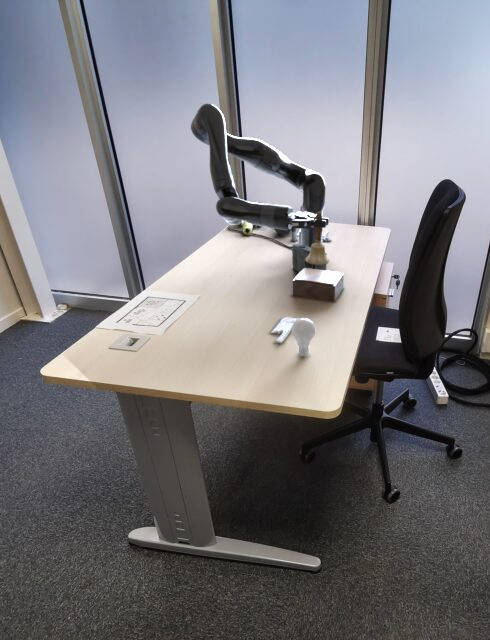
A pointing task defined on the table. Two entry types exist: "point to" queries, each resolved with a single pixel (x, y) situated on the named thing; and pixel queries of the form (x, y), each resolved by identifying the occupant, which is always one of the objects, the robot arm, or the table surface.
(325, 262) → the hand bell
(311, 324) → the lightbulb
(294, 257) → the camera
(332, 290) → the block
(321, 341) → the table surface
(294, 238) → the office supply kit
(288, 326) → the white cleaver
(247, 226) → the cannon
